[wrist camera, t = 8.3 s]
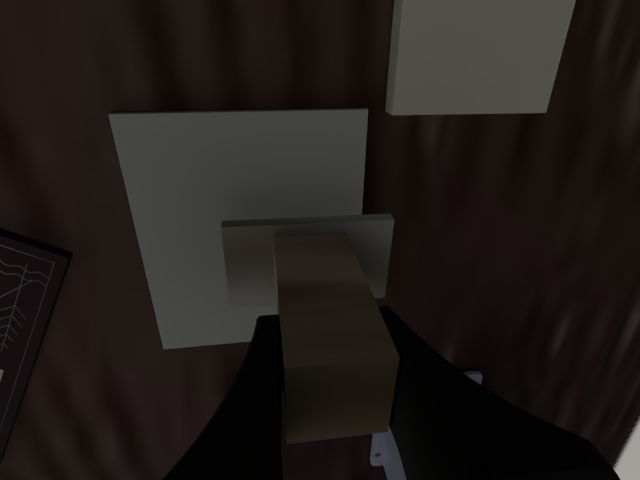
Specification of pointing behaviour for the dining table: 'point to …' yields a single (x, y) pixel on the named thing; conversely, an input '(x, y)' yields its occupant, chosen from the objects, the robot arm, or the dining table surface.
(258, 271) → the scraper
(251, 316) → the mat
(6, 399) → the chocolate bar
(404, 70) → the tile
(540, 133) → the dining table surface
